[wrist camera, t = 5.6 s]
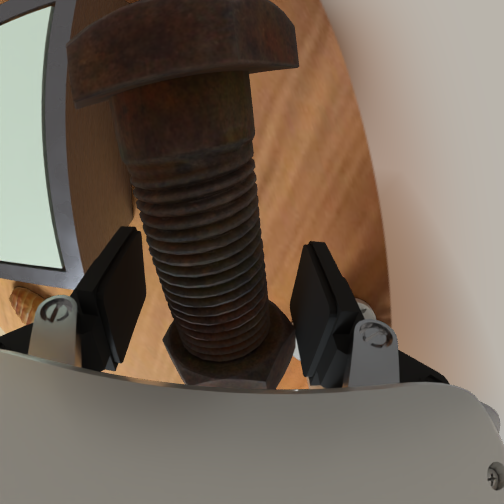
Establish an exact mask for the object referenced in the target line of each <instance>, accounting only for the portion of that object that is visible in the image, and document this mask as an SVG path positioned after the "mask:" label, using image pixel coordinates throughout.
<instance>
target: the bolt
mask: <svg viewBox="0 0 504 504" xmlns="http://www.w3.org/2000/svg"><path fill="white" fill-rule="evenodd" d="M66 52H67V61H68V70H69V77H70V84H71V91H72V97H73V102H74V106H75V109H80V108H83V107H86V106H90V105H93V104H97V103H101V102H104V101H108V100H109V104H110V109H111V114H112V119H113V124H114V129H115V133H116V138H117V142H118V147H119V151H120V155H121V159H122V161H123V162H124V163H125V164H126V165H127V168H128V172H129V173H130V174H131V175H132V176H131V178H130V182H131V184H132V185H133V186H135V189H134V190H133V193H134V196H135V197H136V198H138V200H137V202H136V204H137V208H138V209H139V210H140V211H141V212H140V214H139V215H140V218H141V221H142V222H143V230H144V232H145V234H146V235H147V238H146V241H147V243H148V245H149V246H150V247H149V251H150V254H151V255H152V256H153V258H152V260H153V264H154V265H155V266H156V273H157V274H158V276H159V280H160V283H161V284H162V289H163V292H164V294H165V298H166V301H167V302H168V306H169V309H170V310H171V314H172V316H173V318H174V321H173V322H172V324H171V325H170V327H169V328H168V330H167V332H166V334H165V336H164V338H163V342H164V345H165V347H166V349H167V351H168V353H169V355H170V358H171V360H172V361H173V363H174V365H175V367H176V369H177V371H178V373H179V375H180V376H181V378H182V380H183V382H184V383H185V385H194V386H206V387H220V388H238V389H274V390H276V387H277V386H278V384H279V382H280V381H281V379H282V377H283V376H284V374H285V372H286V369H287V367H288V365H289V363H290V361H291V358H292V356H293V353H294V350H295V348H296V336H295V330H296V329H295V327H294V326H293V325H292V323H291V322H290V321H289V319H288V318H287V317H286V315H285V314H284V313H283V312H282V311H281V310H280V309H279V308H278V307H277V306H276V305H275V304H274V303H273V302H271V301H270V300H268V295H267V294H268V291H267V281H266V272H265V263H264V252H263V241H262V239H261V229H260V218H259V207H258V202H259V201H258V196H257V184H256V183H255V182H256V180H257V179H256V174H255V172H254V168H255V162H254V160H253V159H252V156H253V153H254V152H253V143H252V140H253V138H254V136H255V127H254V117H253V107H252V98H251V89H250V79H249V74H252V73H258V72H265V71H273V70H281V69H290V68H298V67H299V61H298V52H297V43H296V35H295V27H294V25H293V24H292V22H291V21H290V20H289V18H288V17H287V16H286V14H285V13H284V12H283V11H282V10H281V9H280V8H279V7H278V6H276V5H275V4H274V3H272V2H270V1H269V0H139V1H137V2H134V3H131V4H129V5H126V6H124V7H121V8H119V9H117V10H115V11H113V12H111V13H109V14H107V15H106V16H104V17H102V18H100V19H98V20H97V21H95V22H93V23H91V24H90V25H88V26H87V27H85V28H84V29H83V30H82V31H80V32H79V33H78V34H77V35H76V36H74V37H73V38H72V39H71V40H70V41H69V42H68V43H66Z"/></svg>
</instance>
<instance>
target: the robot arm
mask: <svg viewBox="0 0 504 504" xmlns="http://www.w3.org/2000/svg"><path fill="white" fill-rule="evenodd" d="M145 298H146V283H145V273H144V262H143V250H142V236H141V232H140V231H137V229H136V227H128V226H121V227H120V228H119V229H118V230H117V232H116V233H115V234H114V236H113V237H112V238H111V240H110V241H109V242H108V244H107V245H106V246H105V248H104V249H103V251H102V252H101V253H100V255H99V256H98V258H96V259H95V260H94V262H93V263H92V265H91V266H90V267H89V269H88V270H87V272H86V273H85V275H84V276H83V278H82V279H81V280H80V282H79V283H78V285H77V286H76V288H75V289H74V291H73V293H72V294H71V296H66V295H57V296H52V297H50V298H48V299H46V300H44V301H43V302H42V303H41V304H40V305H39V306H38V308H37V310H36V313H35V318H34V322H33V323H31V324H28V325H26V326H24V327H21V328H19V329H16V330H14V331H12V332H9V333H7V334H5V335H3V336H0V504H504V444H503V442H502V441H501V438H500V436H499V429H500V419H499V416H498V414H497V412H496V411H495V410H494V409H492V408H491V407H490V406H488V405H486V404H484V403H482V402H480V401H479V400H478V399H477V398H476V396H475V395H473V394H472V393H471V392H470V391H468V390H466V389H463V388H461V387H458V386H454V385H450V384H449V383H448V381H447V379H446V378H445V377H444V376H443V375H441V374H440V373H438V372H437V371H435V370H433V369H431V368H430V367H428V366H426V365H424V364H422V363H421V362H419V361H417V360H415V359H414V358H412V357H410V356H408V355H407V354H405V353H403V352H401V351H400V350H398V341H397V336H396V334H395V332H394V331H393V329H391V328H390V327H389V326H388V325H387V324H385V323H383V322H381V321H378V320H376V316H375V314H374V312H373V310H372V308H371V307H370V306H369V305H368V304H367V303H366V302H365V301H362V300H360V299H358V298H355V297H354V295H353V293H352V291H351V289H350V287H349V285H348V283H347V281H346V279H345V278H344V277H342V275H341V273H340V271H339V269H338V267H337V265H336V263H335V261H334V259H333V257H332V255H331V253H330V251H329V249H328V247H327V245H326V244H325V242H314V241H310V242H309V244H308V245H304V246H303V249H302V254H301V258H300V263H299V267H298V271H297V276H296V280H295V284H294V288H293V293H292V297H291V301H290V312H291V316H292V321H293V322H292V325H293V326H294V327H295V329H296V330H295V336H296V348H295V350H294V353H293V356H294V357H295V358H296V359H298V360H300V361H301V365H302V370H303V375H304V377H307V382H308V386H309V389H293V390H274V389H238V388H220V387H206V386H194V385H184V384H175V383H167V382H159V381H152V380H145V379H138V378H132V377H126V376H120V375H114V374H109V373H104V372H101V371H103V370H105V369H106V370H111V371H116V368H117V365H118V363H122V362H123V361H124V358H125V355H126V352H127V349H128V346H129V343H130V340H131V337H132V334H133V331H134V328H135V325H136V323H137V320H138V317H139V314H140V312H141V309H142V306H143V303H144V301H145Z"/></svg>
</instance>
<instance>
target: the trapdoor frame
mask: <svg viewBox="0 0 504 504" xmlns="http://www.w3.org/2000/svg"><path fill="white" fill-rule="evenodd" d="M129 4H130V3H128V2H127V1H125V0H9V1H7V2H5V3H3V4H1V5H0V26H1V25H3V24H5V23H8V22H10V21H12V20H15V19H17V18H20V17H22V16H25V15H27V14H30V13H33V12H35V11H38V10H41V9H44V8H47V7H50V6H52V7H55V9H54V14H53V20H52V26H51V33H50V40H49V49H48V59H47V71H46V92H45V127H46V149H47V162H48V173H49V182H50V190H51V197H52V204H53V210H54V216H55V222H56V228H57V233H58V238H59V243H60V247H61V252H62V256H63V260H64V264H65V266H64V267H63V268H53V267H45V266H37V265H29V264H22V263H14V262H7V261H0V278H4V279H9V280H15V281H20V282H26V283H32V284H39V285H45V286H51V287H58V288H65V289H72V290H74V289H75V288H76V286H77V285H78V283H79V282H80V280H81V279H82V278H83V276H84V275H85V273H86V272H87V270H88V269H89V267H90V266H91V265H92V263H93V262H94V260H95V259H96V258H98V256H99V255H100V253H101V252H102V251H103V249H104V248H105V246H106V245H107V244H108V242H109V241H110V240H111V238H112V237H113V236H114V234H115V233H116V232H117V230H118V229H119V228H120V227H121V226H129V224H130V223H131V221H132V220H133V209H132V188H131V182H130V178H131V174H130V173H129V172H128V168H127V165H126V164H125V163H124V162H123V161H122V159H121V155H120V151H119V147H118V142H117V138H116V133H115V129H114V124H113V119H112V114H111V109H110V104H109V100H108V101H104V102H101V103H97V104H93V105H90V106H86V107H83V108H80V109H75V106H74V102H73V97H72V91H71V84H70V77H69V70H68V61H67V52H66V43H68V42H69V41H70V40H71V39H72V38H73V37H74V36H76V35H77V34H78V33H79V32H80V31H82V30H83V29H84V28H85V27H87V26H88V25H90V24H91V23H93V22H95V21H97V20H98V19H100V18H102V17H104V16H106V15H107V14H109V13H111V12H113V11H115V10H117V9H119V8H121V7H124V6H126V5H129Z"/></svg>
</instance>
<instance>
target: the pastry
mask: <svg viewBox="0 0 504 504" xmlns="http://www.w3.org/2000/svg"><path fill="white" fill-rule="evenodd" d="M9 299H10V302H11V305H12V307H13V309H14V310H15V311H16V314H17V315H18V316H19V317H20V318H21V321H22V322H23V323H24V324H26V325H28V324H31V323H33V322H34V318H35V313H36V310H37V308H38V306H39V305H40V304H41V303H42V302H43V301H44V300H45V299H44V298H42V297H40V296H39V295H37V294H35V293H34V292H32V291H30V290H28V289H26V288H22V287H16V288H15V289H14V290H13V292H12V294H11V296H10V298H9Z"/></svg>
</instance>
